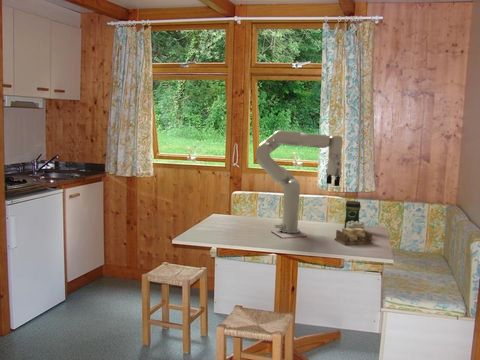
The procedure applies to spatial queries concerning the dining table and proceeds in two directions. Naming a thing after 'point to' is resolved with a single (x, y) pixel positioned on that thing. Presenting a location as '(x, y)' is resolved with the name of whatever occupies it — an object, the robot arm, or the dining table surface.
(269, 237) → the dining table surface
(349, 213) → the coffee jar
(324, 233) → the dining table surface
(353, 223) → the lumpy-topped squat cylinder
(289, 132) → the robot arm
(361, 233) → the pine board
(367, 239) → the peg cradle
